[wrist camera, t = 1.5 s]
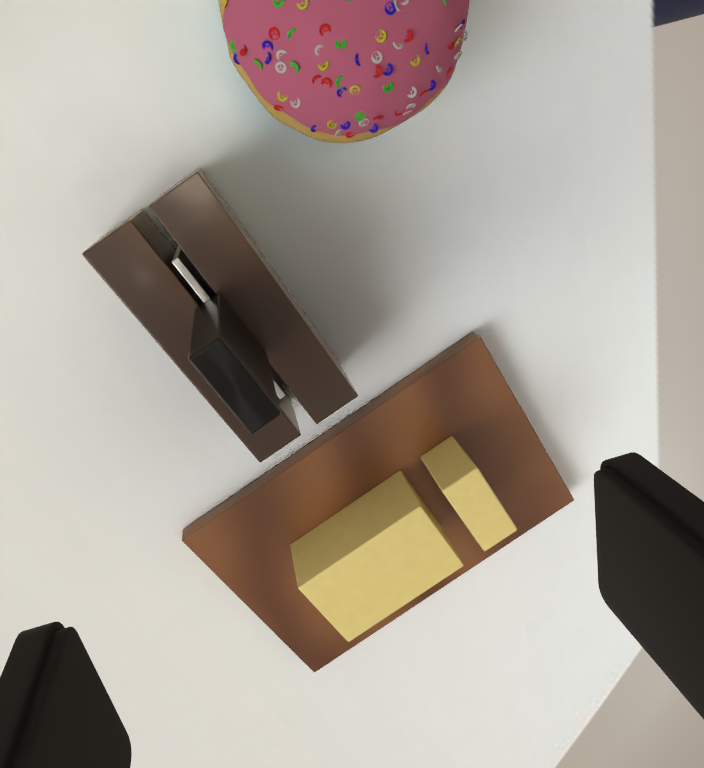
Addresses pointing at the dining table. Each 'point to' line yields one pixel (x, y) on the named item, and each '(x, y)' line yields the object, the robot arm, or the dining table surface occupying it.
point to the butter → (373, 557)
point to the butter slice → (468, 493)
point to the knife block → (238, 287)
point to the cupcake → (344, 60)
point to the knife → (230, 355)
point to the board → (366, 471)
